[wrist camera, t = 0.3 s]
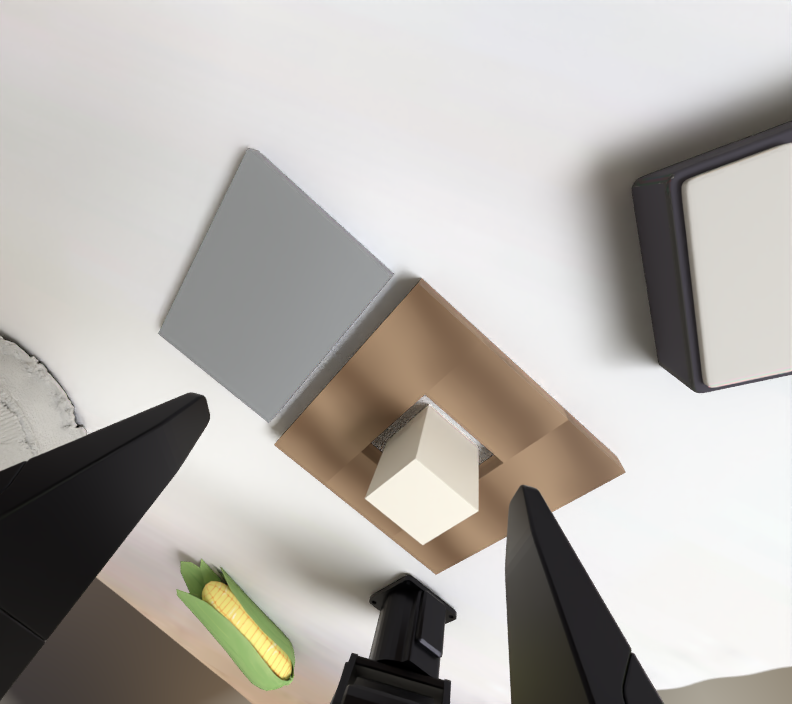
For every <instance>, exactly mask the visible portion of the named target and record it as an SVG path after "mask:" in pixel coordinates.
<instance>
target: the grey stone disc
mask: <svg viewBox="0 0 792 704" xmlns="http://www.w3.org/2000/svg"><path fill="white" fill-rule="evenodd" d="M4 336H5V335H4ZM37 362H38V360H37V359H36V358H35V357H34V356H33V357H31V358H30V357H29V355H28V354H27V353H26V352H24V350H22V349H21V348H20V347H19V346H18V345H16V344H15V343H13V342H10V341H6V340H4V339H3V337H1V336H0V471H1V470H4V469H6V468H9V467H11V466H13V465H16V464H18V463H21V462H23V461H28V460H29V459H30V458H33V457H35V456H38V455H40V454H42V453H45V452H47V451H50V450H52V449H54V448H57V447H59V446H62V445H64V444H66V443H69V442H71V441H74V440H76V439H78V438H81V437H83V436H86V435H87V431H86V430H85V428H84V427H79V428H76V426H77V424H76V423H75V421H74V419H75V416H74V415H73V411H74V406H73V405H72V404H71V401H70V400H69V399H68V397H67V394H66V393H65V392H64V390H63V389H62V388H61V386H60V385H59V384H58V383H57V382H56V381H55V379H54V378H53V377H52V376H51V374H49V373H47V369H46V368H45V366H44V365H42V364H37Z"/></svg>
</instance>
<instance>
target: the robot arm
mask: <svg viewBox="0 0 792 704" xmlns="http://www.w3.org/2000/svg"><path fill="white" fill-rule="evenodd" d="M209 420H210V413H209V409H208V404H207V400H206V398H205V397H204V396H203V395H200V394H196V393H187V394H184V395H182V396H179V397H177V398H175V399H172V400H170V401H167V402H165V403H163V404H160V405H158V406H155V407H153V408H150V409H148V410H146V411H143V412H141V413H138V414H136V415H134V416H131V417H129V418H126V419H124V420H122V421H119V422H117V423H114V424H112V425H110V426H107V427H105V428H102V429H100V430H98V431H95V432H93V433H90V434H88V435H86V436H83V437H81V438H78V439H76V440H74V441H71V442H69V443H66V444H64V445H62V446H59V447H57V448H54V449H52V450H50V451H47V452H45V453H42V454H40V455H38V456H35V457H33V458H30V459H29V460H28V461H23V462H21V463H18V464H16V465H13V466H11V467H9V468H6V469H4V470H1V471H0V700H1V699H2V698H3V696H4V695H5V694H6V693H7V691H8V690H9V689H10V687H11V686H12V685H13V683H14V682H15V681H16V680H17V678H18V677H19V676H20V675H21V673H22V672H23V671H24V669H25V668H26V667H27V666H28V664H29V663H30V662H31V660H32V659H33V658H34V657H35V655H36V654H37V653H38V651H39V650H40V649H41V648H42V646H43V645H44V643H45V640H47V639H48V638H49V637H50V636H51V634H52V633H53V632H54V630H55V629H56V628H57V626H58V625H59V624H60V623H61V621H62V620H63V619H64V617H65V616H66V615H67V614H68V612H69V611H70V610H71V608H72V607H73V606H74V605H75V603H76V602H77V601H78V599H79V598H80V597H81V596H82V594H83V593H84V592H85V590H86V589H87V588H88V586H89V585H90V584H91V582H92V581H93V580H94V579H95V577H96V576H97V575H98V574H99V572H100V571H101V570H102V568H103V567H104V566H105V565H106V563H107V562H108V561H109V559H110V558H111V557H112V556H113V554H114V553H115V552H116V550H117V549H118V548H119V547H120V545H121V544H122V543H123V541H124V540H125V539H126V537H127V536H128V535H129V534H130V532H131V531H132V530H133V528H134V527H135V526H136V525H137V523H138V522H139V521H140V519H141V518H142V517H143V516H144V514H145V513H146V512H147V510H148V509H149V508H150V507H151V505H152V504H153V503H154V501H155V500H156V499H157V498H158V496H159V495H160V494H161V492H162V491H163V490H164V488H165V487H166V486H167V485H168V483H169V482H170V481H171V479H172V478H173V477H174V475H175V474H176V473H177V471H178V470H179V469H180V467H181V466H182V464H183V463H184V461H185V460H186V458H187V456H188V455H189V453H190V452H191V450H192V448H193V447H194V445H195V444H196V442H197V440H198V439H199V437H200V436H201V434H202V432H203V431H204V429H205V428H206V426H207V424H208V423H209ZM505 583H506V604H507V624H508V645H509V665H510V686H511V704H664V703H663V701H662V699H661V698H660V696H659V695H658V693H657V691H656V689H655V688H654V686H653V684H652V683H651V681H650V679H649V678H648V676H647V674H646V673H645V671H644V669H643V668H642V666H641V664H640V662H639V661H638V659H637V657H636V656H635V654H634V653H631V647H630V646H629V644H628V642H627V640H626V639H625V637H624V635H623V634H622V632H621V630H620V628H619V627H618V625H617V623H616V622H615V620H614V618H613V616H612V615H611V613H610V611H609V610H608V608H607V606H606V604H605V603H604V601H603V599H602V598H601V596H600V594H599V592H598V591H597V589H596V587H595V586H594V584H593V582H592V580H591V579H590V577H589V575H588V574H587V572H586V570H585V568H584V567H583V565H582V563H581V562H580V560H579V558H578V556H577V555H576V553H575V551H574V550H573V548H572V546H571V544H570V543H569V541H568V539H567V538H566V536H565V534H564V532H563V531H562V529H561V527H560V526H559V524H558V522H557V520H556V519H555V517H554V515H553V514H552V512H551V510H550V509H549V507H548V505H547V503H546V502H545V500H544V498H543V497H542V495H541V493H540V492H539V490H538V489H537V488H534V487H531V486H527V485H521V486H520V487H519V488H518V490H517V491H516V493H515V495H514V496H513V498H512V500H511V501H510V504H509V510H508V526H507V543H506V559H505ZM369 602H370V603H371V604H372V605H373V606H374V607H376V608H377V609H378V610H380V615H379V619H378V623H377V627H376V631H375V635H374V639H373V644H372V648H371V652H370V656H369V659H367V658H364V657H360V656H358V654H355V653H352V654H351V657H350V659H349V662H346V663H345V666H344V669H343V673H342V676H341V679H340V682H339V685H338V688H337V690H336V692H335V694H334V696H333V699H332V701H331V703H330V704H450V691H451V681H450V680H447V679H444V680H441V679H439V667H440V657H442V654H443V642H444V629H445V624H446V623H449V622H451V621H453V620H455V619H456V615H457V613H456V611H455V610H453V609H452V608H451V607H450V606H448V605H447V604H446V603H445V602H443V601H442V600H441V599H440V598H438V597H437V596H436V595H435V594H433V593H432V592H431V591H430V590H428V589H427V588H426V587H424V586H423V585H422V584H421V583H419V582H418V581H417V580H416V579H414V578H413V577H411V576H405V577H403V578H402V579H400V580H398V581H396V582H394V583H393V584H391V585H389V586H387V587H386V588H384V589H382V590H380V591H379V592H377V593H375V594H373V595H372V596H371V597H370V601H369Z"/></svg>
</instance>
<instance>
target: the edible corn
mask: <svg viewBox="0 0 792 704" xmlns="http://www.w3.org/2000/svg"><path fill="white" fill-rule="evenodd" d="M220 568H221V567H220ZM221 570H222V573H223V575H224V577H225V578H224V577H223V576H222V575H221V576H222V577H223V578H224V580H225V581H226V583H227V584H228V585H226V584H225V583H224V582H223V581H222V580H221V579H220V578H219V577H218V576H217V575H216V574H215V573H214V572H213V571H212V570H211V568H210V567H209V566H208V565H207V564H206V563H205V562H204V561H203V560H202V559H201V564H200V567H198V566H196V565H195V564H193V563H191V562H183V561H181V574H182V576H183V578H184V581H185V583H186V585H187V587H188V589H189V592H190V593H186V592H183V591H180V590H177V589H176V590H177V596H178V597H179V598H180V599H181V600H182V601H183V603H184V604H185V605H186V606H187V607H188V608H189V609H190V610H191V611H192V613H193V614H194V615H195V616H196V617H197V618H198V619H199V620H200V621H201V623H202V624H203V625H204V626H205V627H206V628H207V629H208V631H209V632H210V633H211V634H212V635H213V637H214V638H215V639H216V640H217V641H218V642H219V644H220V645H221V646H222V647H223V648H224V649H225V651H226V652H227V653H228V655H229V656H230V657H231V658H232V660H233V661H234V662H235V664H236V665H237V666H238V667H239V669H240V670H241V671H242V672H243V674H244V675H245V676H246V677H247V678H248V679H249V681H250V682H251V683H252V684H254V685H255V686H257V687H259V688H260V689H263V690H266V691H268V690H275V689H278V688H281V687H282V686H284V685H289V684H290V683H291V682H292V681H293V678H294V665H295V656H294V650H293V647H292V644H291V643H290V641H289V639H288V638H287V637H286V636H285V635H284V634H283V633H282V632H281V630H280V629H279V628H278V627H277V626H276V625H275V624H274V623H273V622H272V621H271V620H270V619H269V618H268V617H267V616H266V615H265V614H264V613H263V612H262V611H261V610H260V609H259V608H258V607H257V606H256V605H255V603H254V602H253V601H252V600H251V599H250V598H249V597H248V596H247V595H246V594H245V593H244V592H243V591H242V590H241V589H240V587H239V586H238V585H237V584H236V583H235V582H234V581H233V580H232V579H231V578H230V577H229V576H228V575H227V573H226V572H225V571H224V570H223V569H222V568H221ZM218 572H219V571H218ZM219 573H220V572H219ZM220 574H221V573H220Z"/></svg>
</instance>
